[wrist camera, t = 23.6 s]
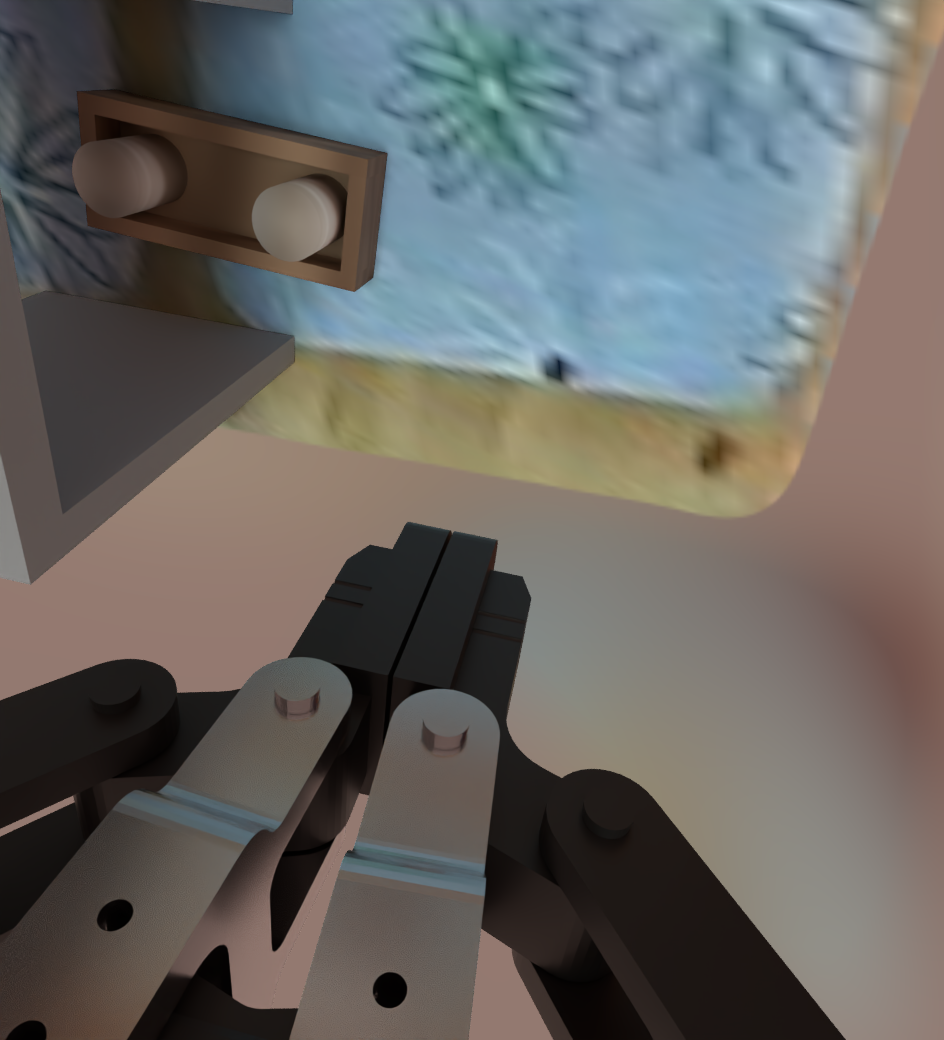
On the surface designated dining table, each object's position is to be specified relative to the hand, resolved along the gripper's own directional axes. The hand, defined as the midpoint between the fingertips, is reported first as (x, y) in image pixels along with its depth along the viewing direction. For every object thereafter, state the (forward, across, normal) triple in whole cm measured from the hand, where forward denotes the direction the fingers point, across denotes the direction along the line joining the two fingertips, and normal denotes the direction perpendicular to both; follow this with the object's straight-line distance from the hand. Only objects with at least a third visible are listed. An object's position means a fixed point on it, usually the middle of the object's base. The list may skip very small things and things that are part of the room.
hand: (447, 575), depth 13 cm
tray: (+29, +17, 0) cm, 34 cm away
